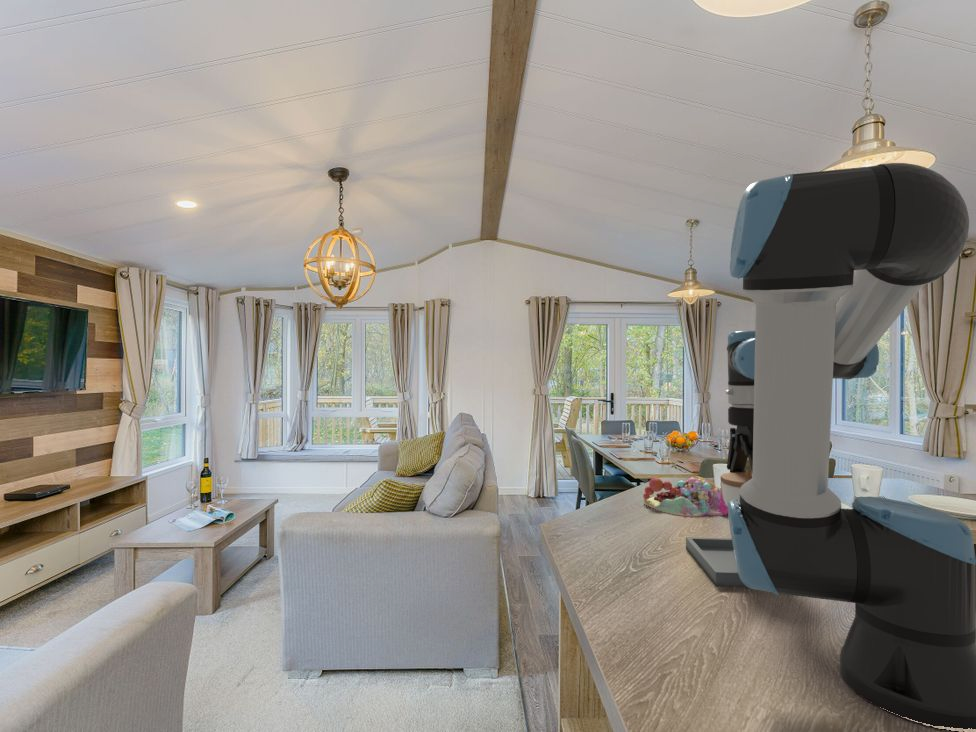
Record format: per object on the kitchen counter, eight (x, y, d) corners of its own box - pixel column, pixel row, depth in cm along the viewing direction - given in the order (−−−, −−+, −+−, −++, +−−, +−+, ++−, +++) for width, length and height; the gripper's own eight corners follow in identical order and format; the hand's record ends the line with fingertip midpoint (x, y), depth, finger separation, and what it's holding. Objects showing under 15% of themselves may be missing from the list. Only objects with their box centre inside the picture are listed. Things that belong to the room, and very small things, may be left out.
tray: (829, 589, 93) (829, 576, 93) (715, 585, 95) (715, 572, 95) (778, 550, 113) (778, 539, 113) (685, 548, 115) (685, 537, 115)
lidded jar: (787, 524, 98) (787, 476, 98) (728, 521, 100) (727, 474, 100) (768, 509, 108) (768, 465, 108) (715, 506, 110) (714, 464, 110)
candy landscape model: (678, 493, 167) (678, 465, 167) (751, 508, 148) (751, 476, 148) (632, 506, 151) (632, 475, 151) (708, 525, 133) (707, 489, 133)
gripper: (710, 402, 116) (711, 498, 116) (752, 411, 93) (753, 530, 93) (744, 402, 115) (745, 498, 115) (795, 411, 92) (796, 531, 92)
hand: (749, 513), depth 104 cm, fingers closed on lidded jar, 11 cm apart
